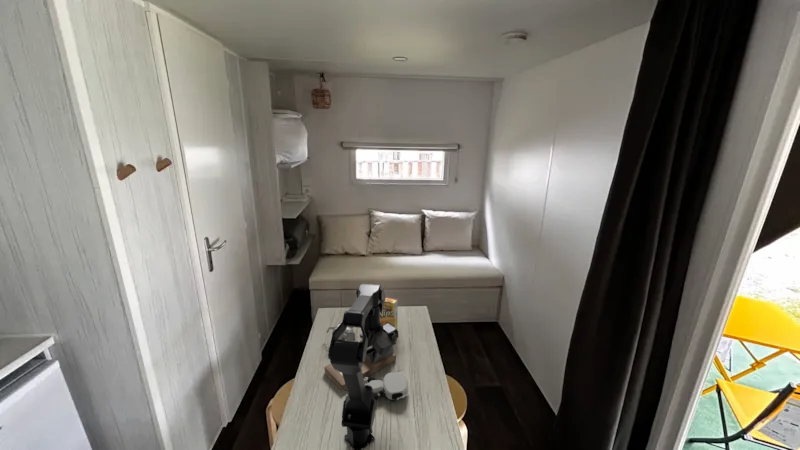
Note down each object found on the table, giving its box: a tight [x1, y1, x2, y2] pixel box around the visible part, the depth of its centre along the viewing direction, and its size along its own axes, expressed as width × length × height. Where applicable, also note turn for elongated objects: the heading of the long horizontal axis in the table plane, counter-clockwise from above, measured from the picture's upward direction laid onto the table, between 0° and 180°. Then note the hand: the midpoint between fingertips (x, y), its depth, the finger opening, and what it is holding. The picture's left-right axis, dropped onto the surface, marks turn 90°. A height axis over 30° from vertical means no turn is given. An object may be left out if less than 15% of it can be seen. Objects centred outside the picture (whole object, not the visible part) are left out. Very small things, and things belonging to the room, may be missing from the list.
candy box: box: [380, 296, 399, 330], centre depth 146 cm, size 9×4×15 cm, turn 70°
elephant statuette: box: [326, 321, 356, 341], centre depth 139 cm, size 9×12×8 cm
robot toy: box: [364, 368, 410, 401], centre depth 114 cm, size 12×4×15 cm
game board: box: [323, 345, 397, 392], centre depth 125 cm, size 24×12×6 cm, turn 132°
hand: (371, 363), depth 110 cm, fingers closed
